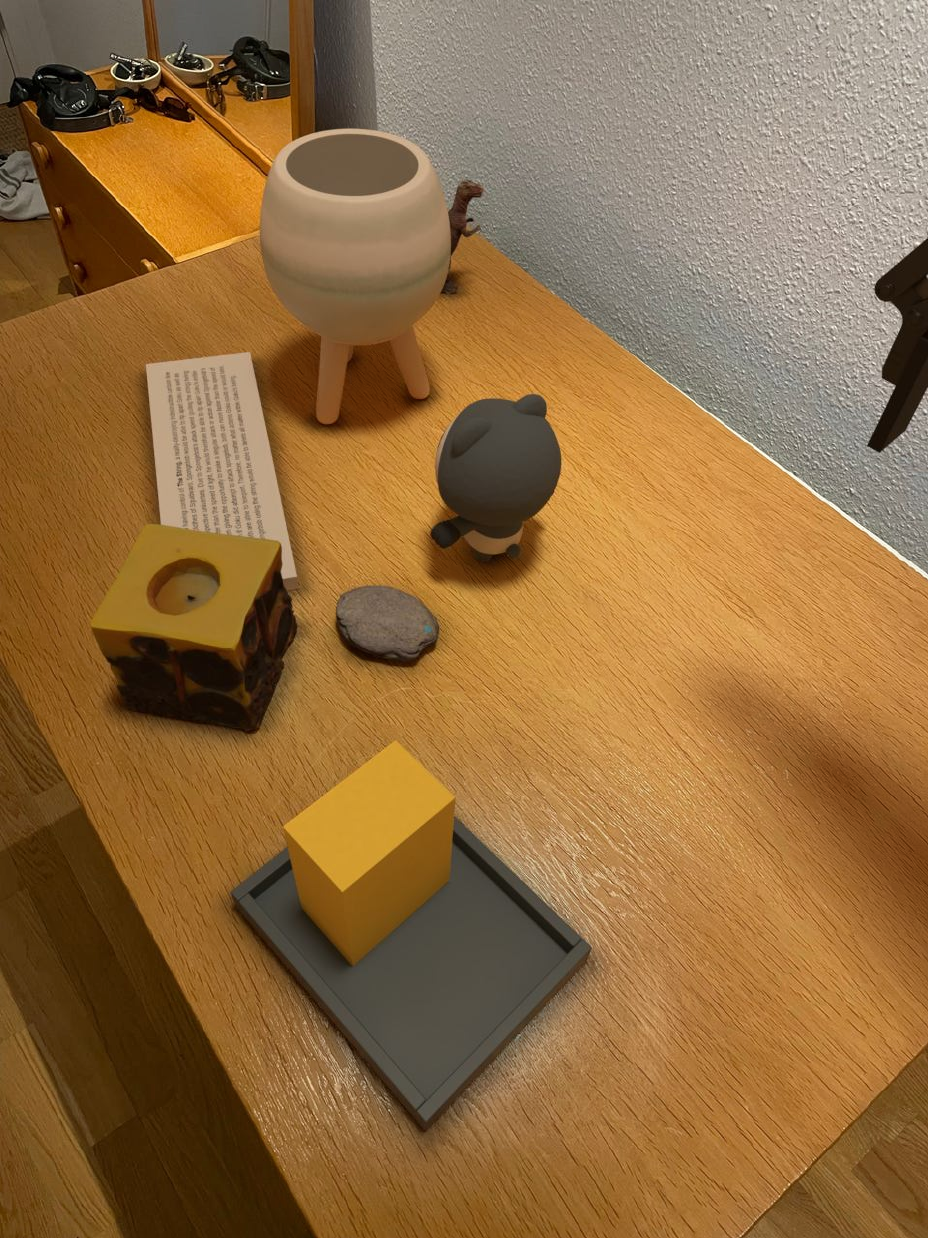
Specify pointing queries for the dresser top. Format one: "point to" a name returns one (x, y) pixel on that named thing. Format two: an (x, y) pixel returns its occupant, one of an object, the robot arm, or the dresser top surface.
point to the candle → (197, 625)
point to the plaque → (215, 451)
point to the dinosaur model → (461, 221)
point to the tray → (428, 972)
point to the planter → (356, 247)
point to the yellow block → (372, 850)
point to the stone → (386, 622)
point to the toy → (495, 473)
